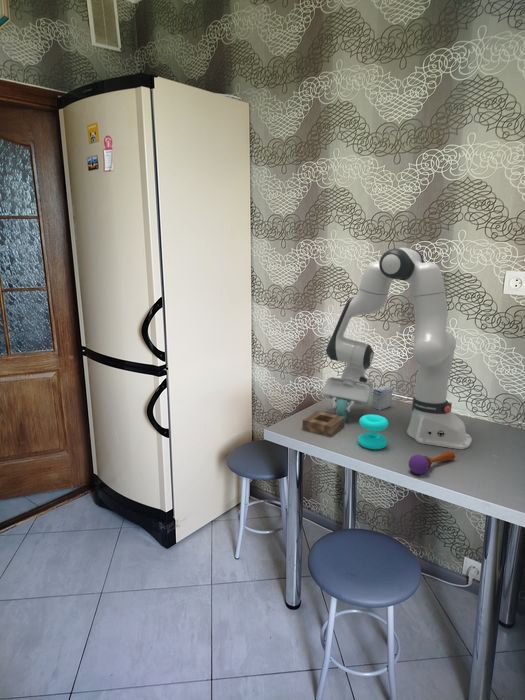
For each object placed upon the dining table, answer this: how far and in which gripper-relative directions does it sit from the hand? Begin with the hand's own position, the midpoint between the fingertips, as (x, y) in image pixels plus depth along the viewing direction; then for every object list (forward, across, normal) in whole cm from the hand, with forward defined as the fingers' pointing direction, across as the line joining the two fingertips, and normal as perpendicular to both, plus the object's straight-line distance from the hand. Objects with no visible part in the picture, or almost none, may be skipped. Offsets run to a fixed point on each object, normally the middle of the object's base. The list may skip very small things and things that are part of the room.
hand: (340, 410), depth 183 cm
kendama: (+17, +40, -9) cm, 44 cm away
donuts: (+13, +18, -6) cm, 23 cm away
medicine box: (-15, +8, +23) cm, 28 cm away
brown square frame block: (+10, -3, -3) cm, 11 cm away
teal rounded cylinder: (+3, 0, +4) cm, 5 cm away
